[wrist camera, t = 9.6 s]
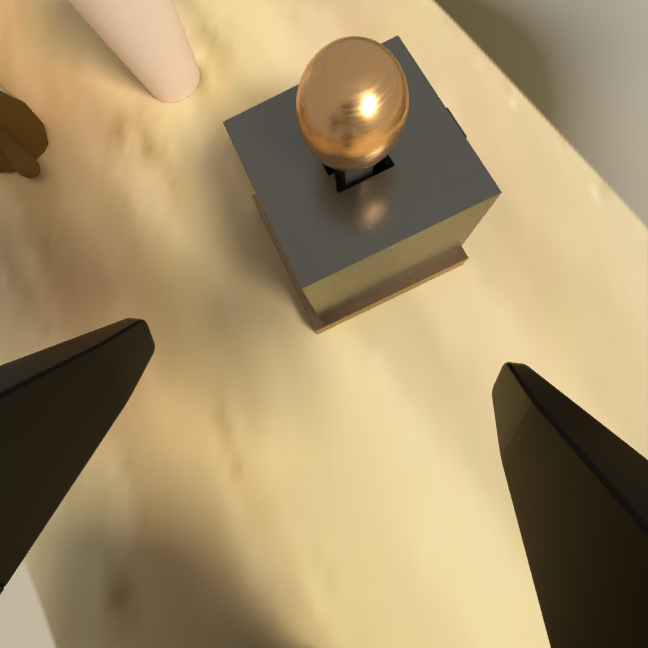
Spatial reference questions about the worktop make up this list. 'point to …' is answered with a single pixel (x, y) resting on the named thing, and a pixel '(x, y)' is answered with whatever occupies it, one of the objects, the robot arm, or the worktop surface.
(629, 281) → the worktop surface
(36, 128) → the rolling pin
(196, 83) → the smoothie
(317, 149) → the copper ball knob
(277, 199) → the copper ball lever box
